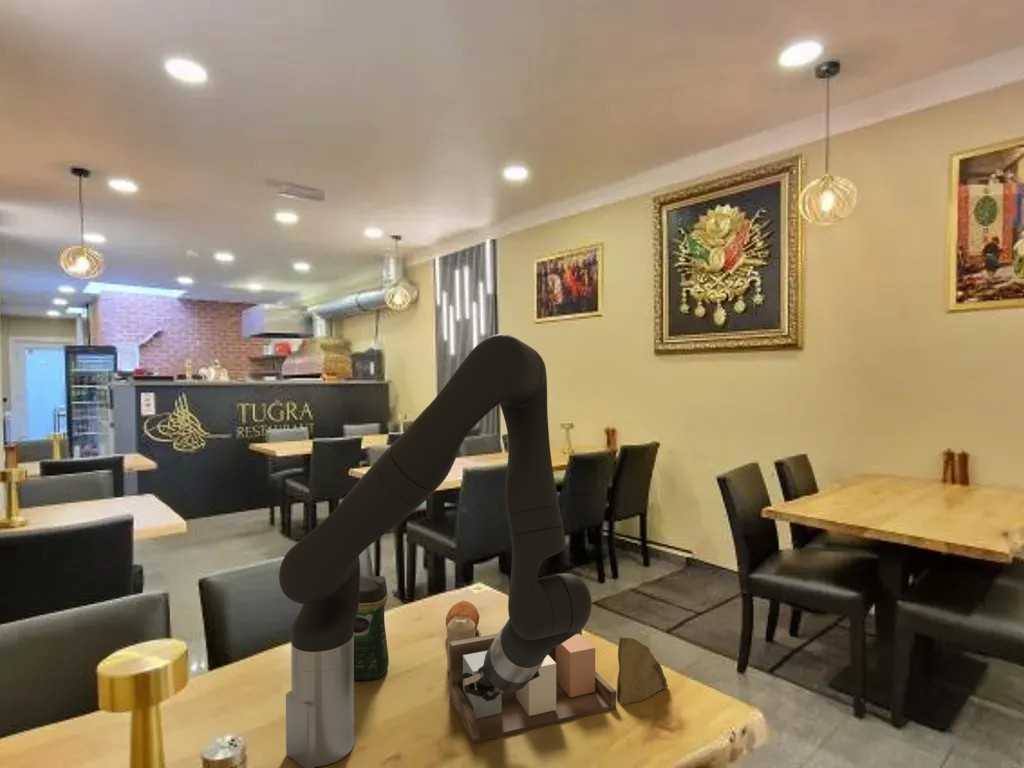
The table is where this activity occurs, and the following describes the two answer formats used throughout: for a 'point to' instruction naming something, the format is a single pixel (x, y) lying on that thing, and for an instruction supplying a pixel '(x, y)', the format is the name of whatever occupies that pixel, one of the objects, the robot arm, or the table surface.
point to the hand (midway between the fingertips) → (488, 694)
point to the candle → (459, 632)
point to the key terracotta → (576, 666)
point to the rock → (637, 672)
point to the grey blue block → (477, 703)
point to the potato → (463, 612)
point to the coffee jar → (370, 630)
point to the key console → (512, 710)
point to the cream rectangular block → (540, 690)
